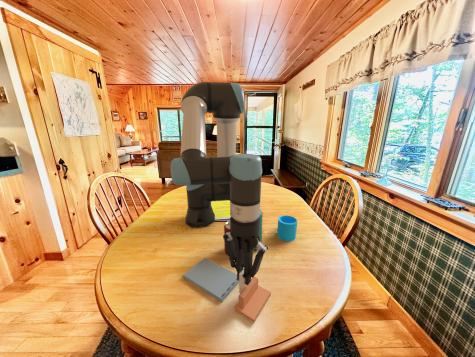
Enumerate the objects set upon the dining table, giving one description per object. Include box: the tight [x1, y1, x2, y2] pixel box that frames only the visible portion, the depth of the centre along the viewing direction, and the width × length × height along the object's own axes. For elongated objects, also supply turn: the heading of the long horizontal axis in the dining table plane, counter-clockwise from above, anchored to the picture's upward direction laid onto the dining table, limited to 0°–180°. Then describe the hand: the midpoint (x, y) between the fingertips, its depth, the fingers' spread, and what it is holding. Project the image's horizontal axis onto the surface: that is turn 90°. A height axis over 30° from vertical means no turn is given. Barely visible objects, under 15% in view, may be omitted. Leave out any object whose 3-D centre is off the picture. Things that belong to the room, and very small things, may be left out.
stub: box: [234, 276, 272, 324], centre depth 54 cm, size 6×10×5 cm, turn 146°
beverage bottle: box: [254, 209, 264, 250], centre depth 76 cm, size 6×7×20 cm
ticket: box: [182, 257, 239, 303], centre depth 63 cm, size 16×10×2 cm, turn 56°
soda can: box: [223, 220, 231, 257], centre depth 74 cm, size 7×7×12 cm
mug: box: [276, 214, 298, 242], centre depth 87 cm, size 12×8×8 cm
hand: (243, 290), depth 55 cm, fingers closed
